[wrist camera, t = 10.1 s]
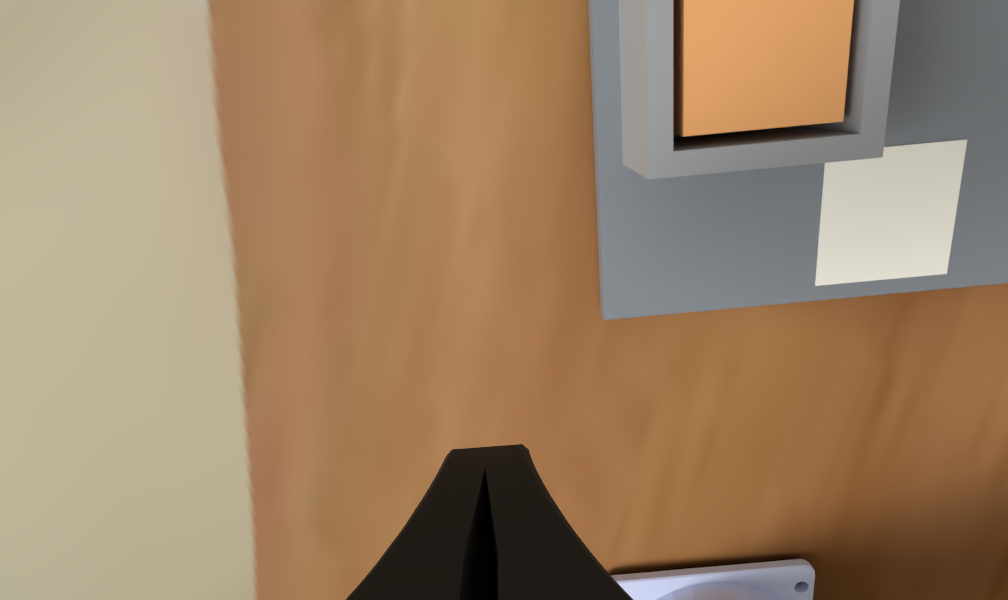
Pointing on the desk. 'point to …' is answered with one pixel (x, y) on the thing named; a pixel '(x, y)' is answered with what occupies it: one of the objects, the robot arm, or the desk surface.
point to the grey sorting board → (805, 169)
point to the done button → (759, 64)
